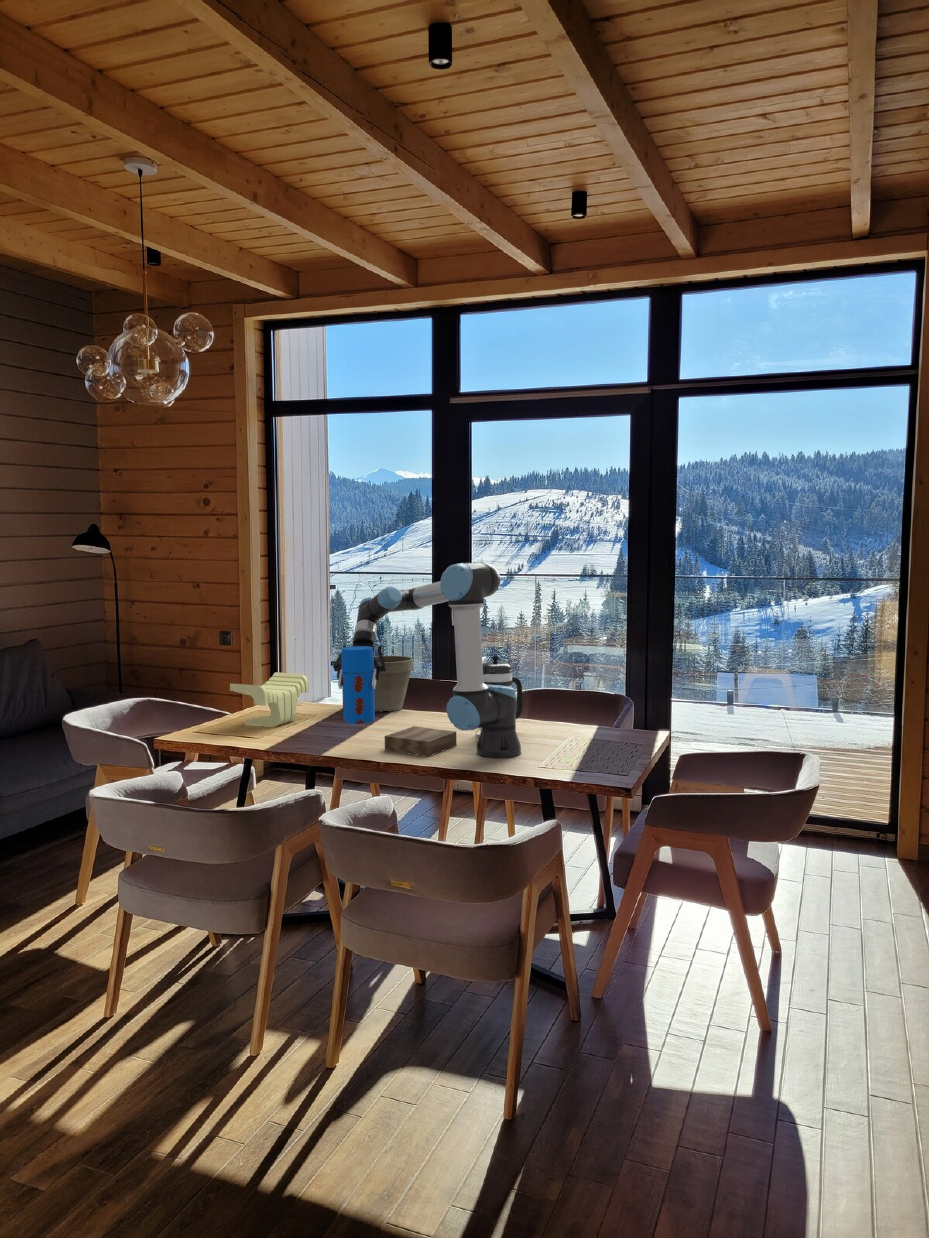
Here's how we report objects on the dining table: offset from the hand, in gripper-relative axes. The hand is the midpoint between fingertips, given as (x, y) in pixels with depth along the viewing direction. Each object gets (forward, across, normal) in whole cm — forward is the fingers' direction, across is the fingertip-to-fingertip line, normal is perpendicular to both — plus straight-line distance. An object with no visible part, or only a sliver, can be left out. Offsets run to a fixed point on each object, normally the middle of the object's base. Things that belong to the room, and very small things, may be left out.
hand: (356, 686), depth 308 cm
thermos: (+7, 0, -11) cm, 13 cm away
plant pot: (-40, +6, -72) cm, 83 cm away
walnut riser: (+9, -20, -23) cm, 32 cm away
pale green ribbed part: (-17, +45, -49) cm, 69 cm away
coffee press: (-5, -45, -39) cm, 60 cm away
